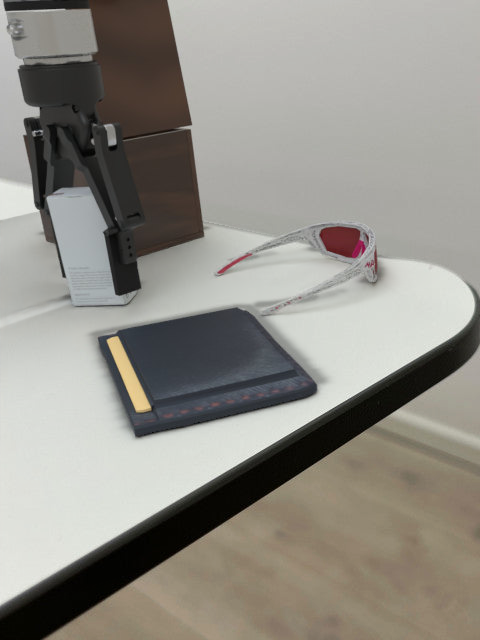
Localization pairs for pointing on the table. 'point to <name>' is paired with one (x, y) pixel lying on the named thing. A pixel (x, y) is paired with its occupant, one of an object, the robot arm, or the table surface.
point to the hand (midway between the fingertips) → (100, 282)
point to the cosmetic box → (83, 247)
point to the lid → (139, 66)
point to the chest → (157, 189)
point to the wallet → (200, 369)
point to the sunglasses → (326, 253)
